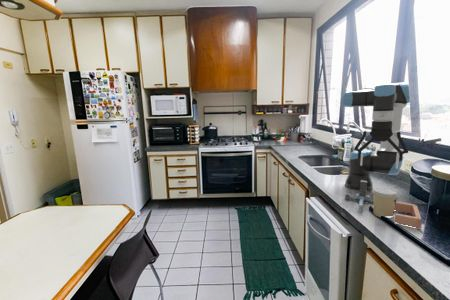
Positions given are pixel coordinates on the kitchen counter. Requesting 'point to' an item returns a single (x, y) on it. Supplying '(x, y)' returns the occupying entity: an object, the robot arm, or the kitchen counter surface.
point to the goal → (408, 220)
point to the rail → (358, 199)
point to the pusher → (362, 194)
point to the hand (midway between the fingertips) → (378, 166)
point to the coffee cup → (384, 201)
